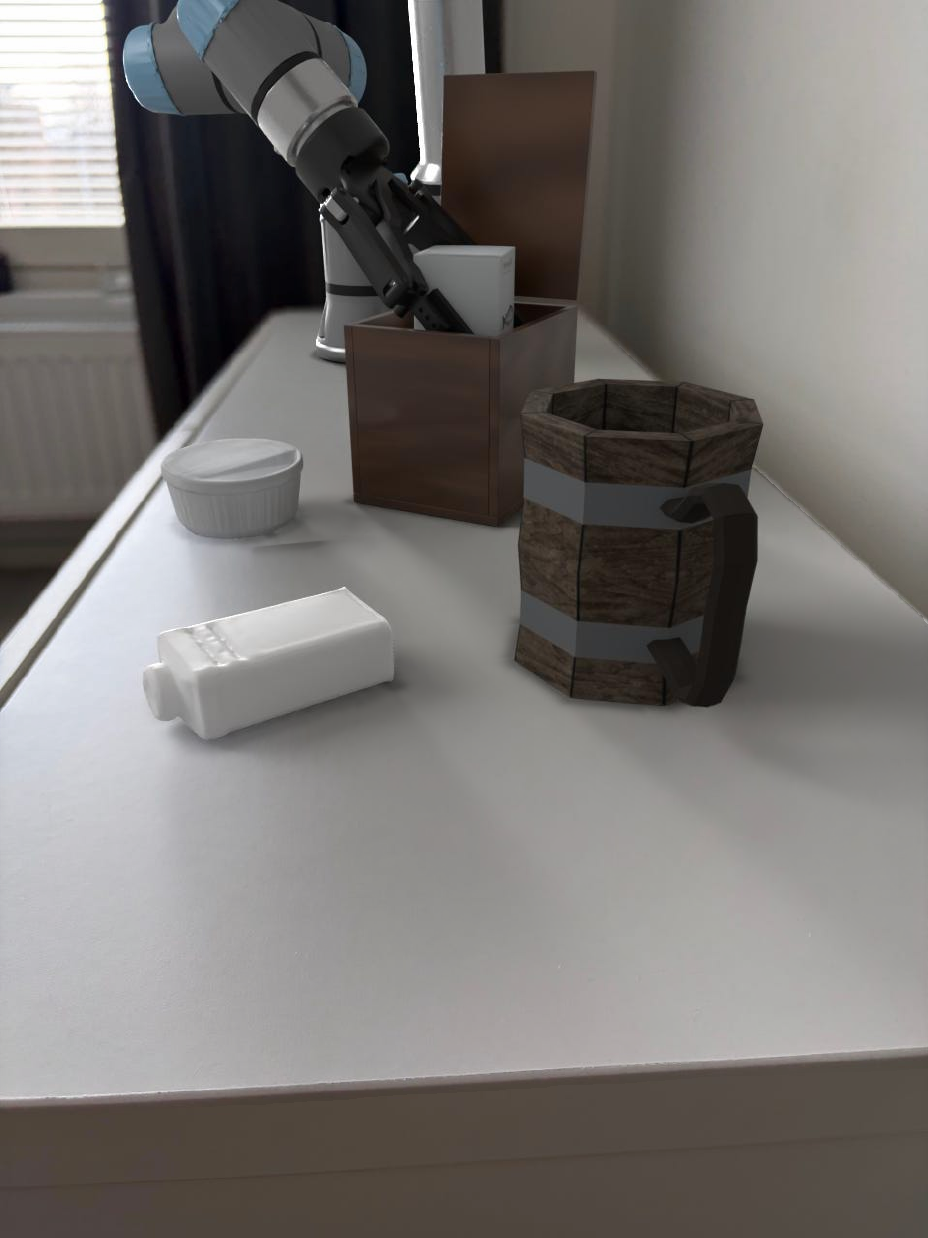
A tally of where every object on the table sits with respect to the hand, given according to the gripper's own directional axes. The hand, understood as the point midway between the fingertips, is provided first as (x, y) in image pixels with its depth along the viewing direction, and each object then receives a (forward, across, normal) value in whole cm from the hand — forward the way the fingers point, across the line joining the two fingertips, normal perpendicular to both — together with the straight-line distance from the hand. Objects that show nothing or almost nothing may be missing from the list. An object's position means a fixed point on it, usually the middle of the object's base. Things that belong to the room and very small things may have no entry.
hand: (500, 353), depth 80 cm
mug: (+23, +26, +6) cm, 35 cm away
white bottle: (+10, +37, -6) cm, 39 cm away
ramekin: (-3, +16, -20) cm, 26 cm away
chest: (+6, 0, -11) cm, 12 cm away
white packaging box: (+1, 0, -6) cm, 6 cm away
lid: (-11, -9, +6) cm, 15 cm away
